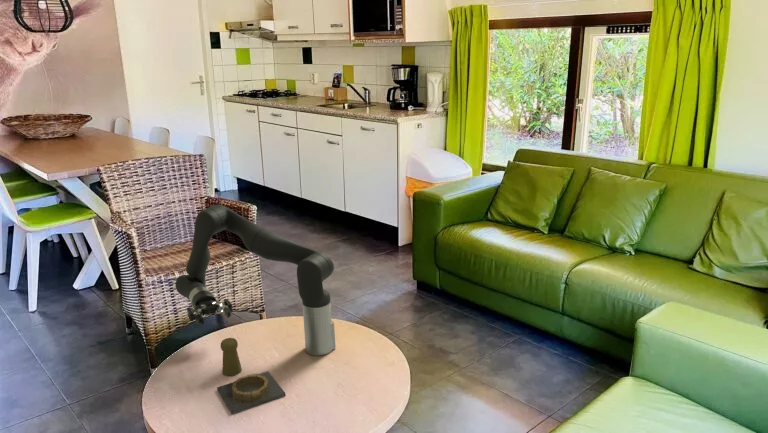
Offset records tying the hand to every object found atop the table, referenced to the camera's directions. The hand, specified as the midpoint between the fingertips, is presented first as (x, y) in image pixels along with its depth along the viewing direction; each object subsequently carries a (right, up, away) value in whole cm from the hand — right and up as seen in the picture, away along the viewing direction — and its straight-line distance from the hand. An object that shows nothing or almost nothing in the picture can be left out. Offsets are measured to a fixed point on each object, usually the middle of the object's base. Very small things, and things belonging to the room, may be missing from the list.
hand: (215, 318), depth 188 cm
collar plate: (+16, -19, -18) cm, 30 cm away
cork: (+7, -16, -6) cm, 18 cm away
